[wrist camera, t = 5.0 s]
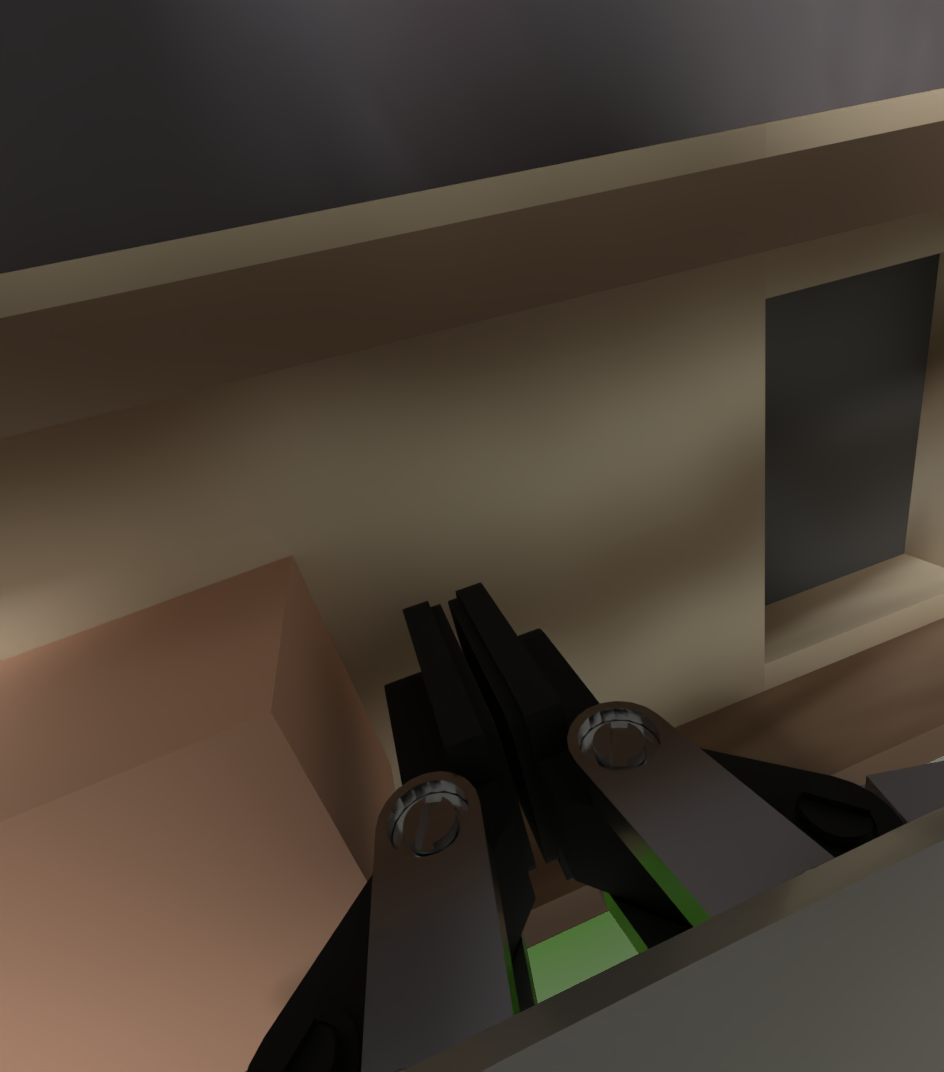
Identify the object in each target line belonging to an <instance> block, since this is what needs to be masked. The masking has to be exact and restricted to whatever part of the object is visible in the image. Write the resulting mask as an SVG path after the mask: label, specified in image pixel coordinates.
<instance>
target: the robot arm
mask: <svg viewBox="0 0 944 1072" xmlns="http://www.w3.org/2000/svg"><path fill="white" fill-rule="evenodd" d="M455 592H456V598H455V599H452V600H449V601H448V605H449V608H450V612H451V615H452V618H453V622H454V625H455V629H456V632H457V635H458V639H459V642H460V645H459V643H458V641H457V639H456V637H455V635H454V632H453V630H452V628H451V626H450V624H449V622H448V619H447V617H446V615H445V613H444V611H443V609H442V606H441V604H438V605H435V606H432V607H430V604H429V602H428V601H425V602H422V603H419V604H416V605H413V606H411V607H408V608H405V609H402V610H403V614H404V617H405V620H406V623H407V627H408V630H409V633H410V636H411V640H412V643H413V646H414V650H415V653H416V656H417V659H418V663H419V666H420V669H421V672H418V673H416V674H413V675H410V676H407V677H405V678H402V679H399V680H397V681H394V682H391V683H388V684H386V685H385V686H384V688H385V695H386V700H387V706H388V711H389V717H390V722H391V728H392V733H393V739H394V744H395V750H396V755H397V761H398V766H399V772H400V777H401V783H402V786H401V787H399V788H398V789H397V790H396V791H395V792H394V793H393V794H392V795H391V797H390V798H389V799H388V800H387V801H386V803H385V805H384V806H383V808H382V810H381V812H380V814H379V816H378V821H377V825H376V830H375V844H374V861H373V874H372V875H371V877H370V878H369V880H368V881H367V883H366V884H365V886H364V887H363V889H362V890H361V892H360V893H359V895H358V896H357V898H356V899H355V901H354V902H353V904H352V905H351V907H350V908H349V910H348V911H347V913H346V914H345V916H344V917H343V919H342V921H341V922H340V924H339V925H338V927H337V928H336V930H335V931H334V933H333V934H332V936H331V937H330V939H329V940H328V942H327V943H326V945H325V946H324V948H323V949H322V951H321V952H320V954H319V955H318V957H317V958H316V960H315V961H314V963H313V964H312V966H311V967H310V969H309V970H308V972H307V973H306V975H305V976H304V978H303V979H302V981H301V982H300V984H299V985H298V987H297V988H296V990H295V991H294V993H293V994H292V996H291V997H290V999H289V1000H288V1002H287V1003H286V1005H285V1006H284V1008H283V1009H282V1011H281V1012H280V1014H279V1016H278V1017H277V1019H276V1020H275V1022H274V1023H273V1025H272V1026H271V1028H270V1029H269V1031H268V1032H267V1034H266V1035H265V1037H264V1038H263V1040H262V1042H261V1044H260V1045H259V1047H258V1049H257V1051H256V1053H255V1055H254V1057H253V1058H252V1060H251V1062H250V1064H249V1066H248V1070H247V1071H245V1072H944V761H941V762H935V763H929V764H924V765H919V766H913V767H908V768H903V769H897V770H892V771H887V772H882V773H876V774H871V775H866V784H864V785H857V784H855V783H853V782H850V781H847V780H844V779H841V778H837V777H834V776H831V775H826V774H821V773H816V772H812V771H807V770H802V769H797V768H793V767H788V766H783V765H778V764H774V763H769V762H764V761H759V760H755V759H750V758H745V757H741V756H736V755H731V754H726V753H722V752H717V751H712V750H707V749H703V748H699V747H698V746H697V745H695V744H694V743H693V742H692V741H690V740H689V739H688V738H687V737H686V736H684V735H683V734H682V733H681V732H679V731H678V730H677V729H676V728H674V727H673V726H672V725H671V724H669V723H668V722H667V721H666V720H665V719H663V718H662V717H661V716H660V715H658V714H657V713H655V712H654V711H652V710H650V709H649V708H647V707H645V706H642V705H639V704H636V703H632V702H623V701H612V702H605V703H599V702H598V700H597V699H596V698H595V697H594V695H593V694H592V693H591V691H590V690H589V689H588V688H587V686H586V685H585V684H584V683H583V681H582V680H581V679H580V677H579V676H578V675H577V674H576V672H575V671H574V670H573V668H572V667H571V666H570V665H569V663H568V662H567V661H566V660H565V658H564V657H563V656H562V654H561V653H560V652H559V651H558V649H557V648H556V647H555V645H554V644H553V643H552V642H551V640H550V639H549V638H548V637H547V635H546V634H545V633H544V632H543V631H542V630H541V629H539V628H538V629H535V630H532V631H530V632H527V633H524V634H521V635H519V636H517V634H516V633H515V631H514V630H513V628H512V627H511V625H510V624H509V622H508V621H507V620H506V618H505V617H504V615H503V614H502V612H501V611H500V609H499V608H498V606H497V605H496V603H495V602H494V600H493V599H492V597H491V596H490V595H489V593H488V592H487V590H486V589H485V587H484V586H483V584H482V583H481V582H480V583H477V584H474V585H471V586H468V587H465V588H463V589H460V590H457V591H455ZM460 646H461V648H460ZM461 649H462V650H461ZM518 801H519V802H518ZM519 803H520V806H521V808H522V810H523V813H524V815H525V817H526V819H527V822H528V824H529V826H530V829H531V831H532V833H533V836H534V838H535V840H536V843H537V845H538V847H539V849H540V852H541V854H542V856H543V859H544V861H545V862H546V864H548V863H550V862H552V861H555V860H558V862H559V865H560V867H561V869H562V871H563V873H564V875H565V878H566V880H569V879H571V878H574V880H575V881H578V882H580V883H583V884H586V885H588V886H591V887H593V888H596V889H599V892H600V895H601V897H602V899H603V901H604V903H605V905H606V907H607V908H608V910H609V911H610V913H611V914H612V915H613V917H614V918H615V919H616V921H617V923H618V924H619V926H620V927H621V928H622V930H623V931H624V933H625V934H626V936H627V937H628V939H629V940H630V941H631V943H632V944H633V946H634V947H635V949H636V950H637V952H638V953H639V954H638V955H636V956H634V957H632V958H630V959H628V960H626V961H623V962H621V963H619V964H618V965H616V966H613V967H611V968H609V969H608V970H605V971H603V972H601V973H599V974H597V975H595V976H593V977H591V978H589V979H587V980H585V981H583V982H581V983H579V984H577V985H575V986H573V987H571V988H569V989H567V990H565V991H563V992H561V993H559V994H557V995H555V996H553V997H550V998H549V999H547V1000H544V1001H543V1002H540V1003H537V998H536V993H535V988H534V983H533V978H532V973H531V968H530V963H529V958H528V953H527V947H526V943H525V940H524V937H523V934H522V932H523V929H524V927H525V924H526V922H527V919H528V917H529V914H530V912H531V909H532V907H533V904H534V902H535V899H536V897H535V894H534V890H533V887H532V883H531V880H530V877H529V873H528V872H530V871H532V870H535V869H537V867H536V863H535V859H534V856H533V852H532V848H531V845H530V841H529V838H528V834H527V831H526V827H525V824H524V820H523V816H522V813H521V809H520V806H519Z"/></svg>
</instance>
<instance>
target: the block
mask: <svg viewBox="0 0 944 1072" xmlns="http://www.w3.org/2000/svg"><path fill="white" fill-rule="evenodd" d="M394 792H395V787H394V781H393V775H392V769H391V764H390V762H389V760H388V758H387V755H386V753H385V751H384V749H383V747H382V745H381V743H380V741H379V738H378V736H377V734H376V732H375V730H374V728H373V726H372V724H371V721H370V719H369V717H368V715H367V713H366V711H365V709H364V707H363V704H362V702H361V700H360V698H359V696H358V694H357V692H356V690H355V688H354V685H353V683H352V681H351V679H350V677H349V675H348V673H347V671H346V668H345V666H344V664H343V662H342V660H341V658H340V656H339V654H338V651H337V649H336V647H335V645H334V643H333V641H332V639H331V637H330V634H329V632H328V630H327V628H326V626H325V624H324V622H323V620H322V617H321V615H320V613H319V611H318V609H317V607H316V605H315V603H314V600H313V598H312V596H311V594H310V592H309V590H308V588H307V586H306V583H305V581H304V579H303V577H302V575H301V573H300V571H299V569H298V566H297V564H296V562H295V560H294V558H293V556H292V555H291V556H288V557H286V558H283V559H280V560H277V561H275V562H272V563H269V564H266V565H264V566H261V567H258V568H255V569H253V570H250V571H247V572H244V573H242V574H239V575H236V576H233V577H231V578H228V579H225V580H222V581H220V582H217V583H214V584H211V585H209V586H206V587H203V588H200V589H198V590H195V591H192V592H189V593H187V594H184V595H181V596H178V597H176V598H173V599H170V600H167V601H165V602H162V603H159V604H156V605H154V606H151V607H148V608H145V609H143V610H140V611H137V612H134V613H132V614H129V615H126V616H123V617H121V618H118V619H115V620H112V621H110V622H107V623H104V624H101V625H99V626H96V627H93V628H90V629H88V630H85V631H82V632H79V633H77V634H74V635H71V636H68V637H66V638H63V639H60V640H57V641H55V642H52V643H49V644H46V645H44V646H41V647H38V648H35V649H33V650H30V651H27V652H24V653H22V654H19V655H16V656H13V657H11V658H8V659H5V660H2V661H0V1072H245V1071H247V1070H248V1066H249V1064H250V1062H251V1060H252V1058H253V1057H254V1055H255V1053H256V1051H257V1049H258V1047H259V1045H260V1044H261V1042H262V1040H263V1038H264V1037H265V1035H266V1034H267V1032H268V1031H269V1029H270V1028H271V1026H272V1025H273V1023H274V1022H275V1020H276V1019H277V1017H278V1016H279V1014H280V1012H281V1011H282V1009H283V1008H284V1006H285V1005H286V1003H287V1002H288V1000H289V999H290V997H291V996H292V994H293V993H294V991H295V990H296V988H297V987H298V985H299V984H300V982H301V981H302V979H303V978H304V976H305V975H306V973H307V972H308V970H309V969H310V967H311V966H312V964H313V963H314V961H315V960H316V958H317V957H318V955H319V954H320V952H321V951H322V949H323V948H324V946H325V945H326V943H327V942H328V940H329V939H330V937H331V936H332V934H333V933H334V931H335V930H336V928H337V927H338V925H339V924H340V922H341V921H342V919H343V917H344V916H345V914H346V913H347V911H348V910H349V908H350V907H351V905H352V904H353V902H354V901H355V899H356V898H357V896H358V895H359V893H360V892H361V890H362V889H363V887H364V886H365V884H366V883H367V881H368V880H369V878H370V877H371V875H372V874H373V861H374V844H375V830H376V825H377V821H378V816H379V814H380V812H381V810H382V808H383V806H384V805H385V803H386V801H387V800H388V799H389V798H390V797H391V795H392V794H393V793H394Z"/></svg>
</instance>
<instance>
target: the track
mask: <svg viewBox="0 0 944 1072" xmlns="http://www.w3.org/2000/svg"><path fill="white" fill-rule="evenodd" d="M291 555H292V556H293V558H294V560H295V562H296V564H297V566H298V569H299V571H300V573H301V575H302V577H303V579H304V581H305V583H306V586H307V588H308V590H309V592H310V594H311V596H312V598H313V600H314V603H315V605H316V607H317V609H318V611H319V613H320V615H321V617H322V620H323V622H324V624H325V626H326V628H327V630H328V632H329V634H330V637H331V639H332V641H333V643H334V645H335V647H336V649H337V651H338V654H339V656H340V658H341V660H342V662H343V664H344V666H345V668H346V671H347V673H348V675H349V677H350V679H351V681H352V683H353V685H354V688H355V690H356V692H357V694H358V696H359V698H360V700H361V702H362V704H363V707H364V709H365V711H366V713H367V715H368V717H369V719H370V721H371V724H372V726H373V728H374V730H375V732H376V734H377V736H378V738H379V741H380V743H381V745H382V747H383V749H384V751H385V753H386V755H387V758H388V760H389V762H390V764H391V769H392V775H393V781H394V787H395V791H396V790H397V789H398V788H399V787H401V786H402V783H401V777H400V772H399V766H398V761H397V755H396V750H395V744H394V739H393V733H392V728H391V722H390V717H389V711H388V706H387V700H386V695H385V688H384V686H385V685H386V684H388V683H391V682H394V681H397V680H399V679H402V678H405V677H407V676H410V675H413V674H416V673H418V672H421V669H420V666H419V663H418V659H417V656H416V653H415V650H414V646H413V643H412V640H411V636H410V633H409V630H408V627H407V623H406V620H405V617H404V614H403V610H402V609H405V608H408V607H411V606H413V605H416V604H419V603H422V602H425V601H428V602H429V604H430V607H432V606H435V605H438V604H441V606H442V609H443V611H444V613H445V615H446V617H447V619H448V622H449V624H450V626H451V628H452V630H453V632H454V635H455V637H456V639H457V641H458V643H459V645H460V642H459V639H458V635H457V632H456V629H455V625H454V622H453V618H452V615H451V612H450V608H449V605H448V601H449V600H452V599H455V598H456V592H455V591H457V590H460V589H463V588H465V587H468V586H471V585H474V584H477V583H480V582H481V583H482V584H483V586H484V587H485V589H486V590H487V592H488V593H489V595H490V596H491V597H492V599H493V600H494V602H495V603H496V605H497V606H498V608H499V609H500V611H501V612H502V614H503V615H504V617H505V618H506V620H507V621H508V622H509V624H510V625H511V627H512V628H513V630H514V631H515V633H516V634H517V636H519V635H521V634H524V633H527V632H530V631H532V630H535V629H538V628H539V629H541V630H542V631H543V632H544V633H545V634H546V635H547V637H548V638H549V639H550V640H551V642H552V643H553V644H554V645H555V647H556V648H557V649H558V651H559V652H560V653H561V654H562V656H563V657H564V658H565V660H566V661H567V662H568V663H569V665H570V666H571V667H572V668H573V670H574V671H575V672H576V674H577V675H578V676H579V677H580V679H581V680H582V681H583V683H584V684H585V685H586V686H587V688H588V689H589V690H590V691H591V693H592V694H593V695H594V697H595V698H596V699H597V700H598V702H599V703H605V702H612V701H623V702H632V703H636V704H639V705H642V706H645V707H647V708H649V709H650V710H652V711H654V712H655V713H657V714H658V715H660V716H661V717H662V718H663V719H665V720H666V721H667V722H668V723H669V724H671V725H672V726H673V727H674V728H676V729H677V730H678V731H679V732H681V733H682V734H683V735H684V736H686V737H687V738H688V739H689V740H690V741H692V742H693V743H694V744H695V745H697V746H698V747H699V748H703V749H707V750H712V751H717V752H722V753H726V754H731V755H736V756H741V757H745V758H750V759H755V760H759V761H764V762H769V763H774V764H778V765H783V766H788V767H793V768H797V769H802V770H807V771H812V772H816V773H821V774H826V775H831V776H834V777H837V778H841V779H844V780H847V781H850V782H853V783H855V784H857V785H864V784H866V775H871V774H876V773H882V772H887V771H892V770H897V769H903V768H908V767H913V766H919V765H924V764H927V763H929V762H931V761H933V760H935V759H937V758H940V757H942V756H944V88H942V89H937V90H932V91H927V92H922V93H917V94H912V95H907V96H902V97H897V98H892V99H886V100H881V101H876V102H871V103H866V104H861V105H856V106H851V107H846V108H841V109H836V110H831V111H826V112H820V113H815V114H810V115H805V116H800V117H795V118H790V119H785V120H780V121H775V122H770V123H765V124H759V125H754V126H749V127H744V128H739V129H734V130H729V131H724V132H719V133H714V134H709V135H704V136H698V137H693V138H688V139H683V140H678V141H673V142H668V143H663V144H658V145H653V146H648V147H643V148H637V149H632V150H627V151H622V152H617V153H612V154H607V155H602V156H597V157H592V158H587V159H582V160H577V161H571V162H566V163H561V164H556V165H551V166H546V167H541V168H536V169H531V170H526V171H521V172H516V173H510V174H505V175H500V176H495V177H490V178H485V179H480V180H475V181H470V182H465V183H460V184H455V185H449V186H444V187H439V188H434V189H429V190H424V191H419V192H414V193H409V194H404V195H399V196H394V197H388V198H383V199H378V200H373V201H368V202H363V203H358V204H353V205H348V206H343V207H338V208H333V209H328V210H322V211H317V212H312V213H307V214H302V215H297V216H292V217H287V218H282V219H277V220H272V221H267V222H261V223H256V224H251V225H246V226H241V227H236V228H231V229H226V230H221V231H216V232H211V233H206V234H200V235H195V236H190V237H185V238H180V239H175V240H170V241H165V242H160V243H155V244H150V245H145V246H139V247H134V248H129V249H124V250H119V251H114V252H109V253H104V254H99V255H94V256H89V257H84V258H79V259H73V260H68V261H63V262H58V263H53V264H48V265H43V266H38V267H33V268H28V269H23V270H18V271H12V272H7V273H2V274H0V661H2V660H5V659H8V658H11V657H13V656H16V655H19V654H22V653H24V652H27V651H30V650H33V649H35V648H38V647H41V646H44V645H46V644H49V643H52V642H55V641H57V640H60V639H63V638H66V637H68V636H71V635H74V634H77V633H79V632H82V631H85V630H88V629H90V628H93V627H96V626H99V625H101V624H104V623H107V622H110V621H112V620H115V619H118V618H121V617H123V616H126V615H129V614H132V613H134V612H137V611H140V610H143V609H145V608H148V607H151V606H154V605H156V604H159V603H162V602H165V601H167V600H170V599H173V598H176V597H178V596H181V595H184V594H187V593H189V592H192V591H195V590H198V589H200V588H203V587H206V586H209V585H211V584H214V583H217V582H220V581H222V580H225V579H228V578H231V577H233V576H236V575H239V574H242V573H244V572H247V571H250V570H253V569H255V568H258V567H261V566H264V565H266V564H269V563H272V562H275V561H277V560H280V559H283V558H286V557H288V556H291ZM460 648H461V646H460ZM461 650H462V649H461ZM518 802H519V801H518ZM519 806H520V803H519ZM520 809H521V813H522V816H523V820H524V824H525V827H526V831H527V834H528V838H529V841H530V845H531V848H532V852H533V856H534V859H535V863H536V867H537V869H535V870H532V871H530V872H528V873H529V877H530V880H531V883H532V887H533V890H534V894H535V897H536V899H535V902H534V904H533V907H532V909H531V912H530V914H529V917H528V919H527V922H526V924H525V927H524V929H523V932H522V934H523V937H524V940H525V943H526V947H527V948H529V947H532V946H534V945H536V944H538V943H540V942H542V941H544V940H547V939H549V938H551V937H553V936H555V935H558V934H560V933H562V932H564V931H566V930H568V929H570V928H572V927H575V926H577V925H579V924H581V923H583V922H586V921H588V920H590V919H592V918H594V917H596V916H598V915H601V914H603V913H605V912H607V911H609V910H608V908H607V907H606V905H605V903H604V901H603V899H602V897H601V895H600V892H599V889H596V888H593V887H591V886H588V885H586V884H583V883H580V882H578V881H575V880H574V878H571V879H569V880H566V878H565V875H564V873H563V871H562V869H561V867H560V865H559V862H558V860H555V861H552V862H550V863H548V864H546V862H545V861H544V859H543V856H542V854H541V852H540V849H539V847H538V845H537V843H536V840H535V838H534V836H533V833H532V831H531V829H530V826H529V824H528V822H527V819H526V817H525V815H524V813H523V810H522V808H521V806H520Z"/></svg>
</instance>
